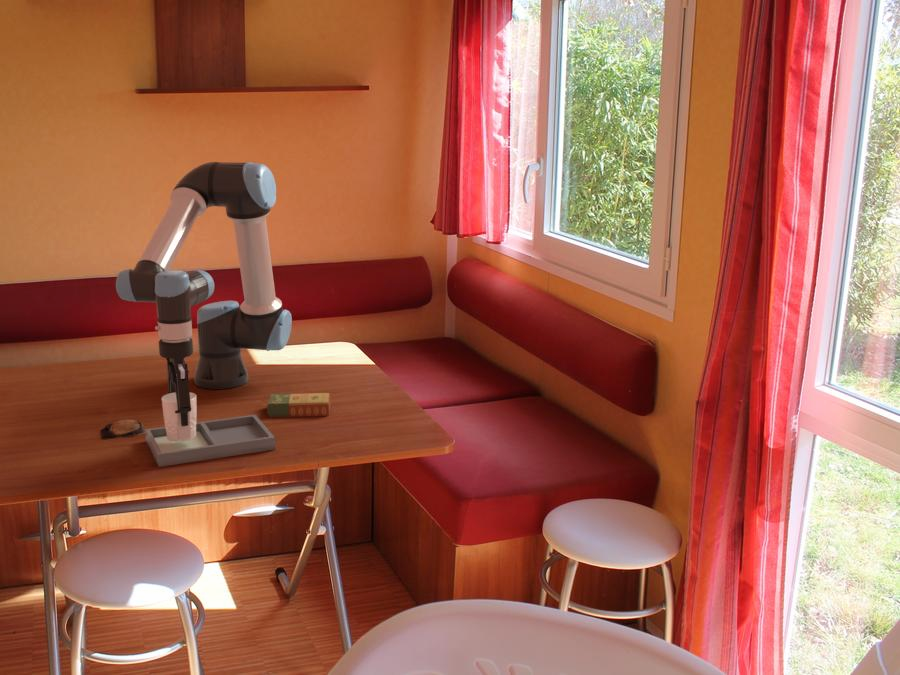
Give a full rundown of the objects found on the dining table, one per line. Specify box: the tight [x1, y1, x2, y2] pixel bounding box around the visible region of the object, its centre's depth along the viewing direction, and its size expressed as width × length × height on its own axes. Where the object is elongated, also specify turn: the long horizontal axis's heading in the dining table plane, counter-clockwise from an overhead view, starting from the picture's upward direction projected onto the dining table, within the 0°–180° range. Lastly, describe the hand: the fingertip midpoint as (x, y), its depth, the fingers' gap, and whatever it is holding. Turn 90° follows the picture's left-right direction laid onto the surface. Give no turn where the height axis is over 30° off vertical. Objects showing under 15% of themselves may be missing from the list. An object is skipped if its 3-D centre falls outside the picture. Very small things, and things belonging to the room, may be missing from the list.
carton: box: [266, 392, 331, 418], centre depth 261 cm, size 8×16×4 cm, turn 94°
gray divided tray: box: [144, 414, 276, 468], centre depth 236 cm, size 18×27×3 cm, turn 115°
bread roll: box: [100, 419, 146, 440], centre depth 245 cm, size 11×8×4 cm
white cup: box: [160, 391, 198, 442], centre depth 232 cm, size 8×8×10 cm
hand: (181, 432), depth 233 cm, fingers closed on white cup, 8 cm apart
